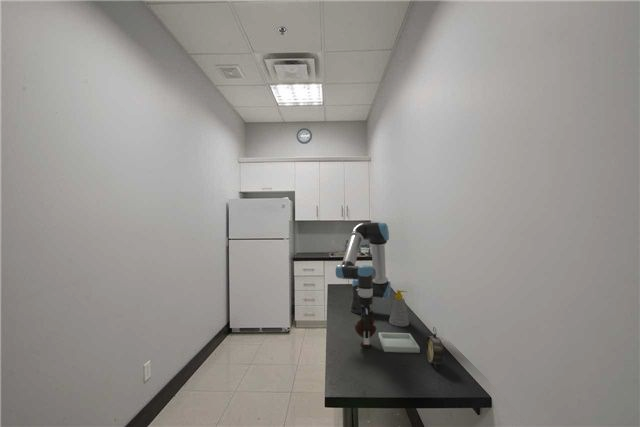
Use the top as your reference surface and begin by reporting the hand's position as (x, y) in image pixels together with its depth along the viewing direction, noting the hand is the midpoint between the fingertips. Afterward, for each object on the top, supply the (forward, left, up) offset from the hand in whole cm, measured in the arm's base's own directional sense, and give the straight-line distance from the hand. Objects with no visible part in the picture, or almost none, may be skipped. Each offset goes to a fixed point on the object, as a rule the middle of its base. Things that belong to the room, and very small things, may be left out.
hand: (365, 339), depth 138 cm
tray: (-2, +17, -3) cm, 18 cm away
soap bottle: (-33, +25, -3) cm, 42 cm away
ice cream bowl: (0, 0, -3) cm, 3 cm away
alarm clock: (+17, +29, -3) cm, 34 cm away
